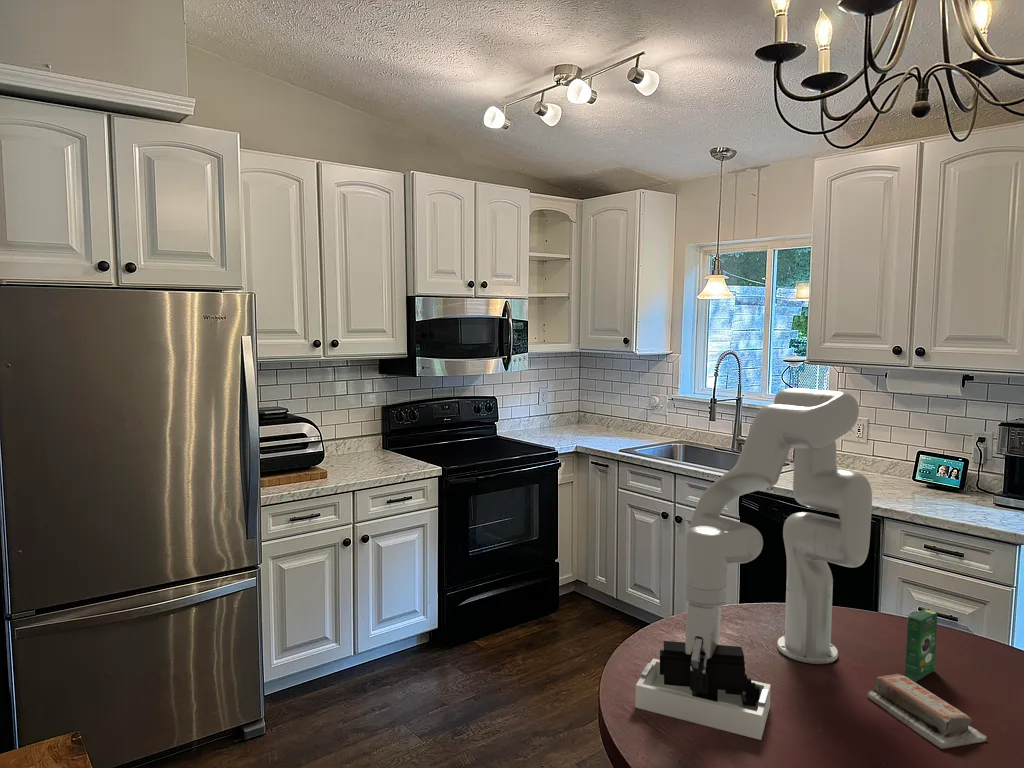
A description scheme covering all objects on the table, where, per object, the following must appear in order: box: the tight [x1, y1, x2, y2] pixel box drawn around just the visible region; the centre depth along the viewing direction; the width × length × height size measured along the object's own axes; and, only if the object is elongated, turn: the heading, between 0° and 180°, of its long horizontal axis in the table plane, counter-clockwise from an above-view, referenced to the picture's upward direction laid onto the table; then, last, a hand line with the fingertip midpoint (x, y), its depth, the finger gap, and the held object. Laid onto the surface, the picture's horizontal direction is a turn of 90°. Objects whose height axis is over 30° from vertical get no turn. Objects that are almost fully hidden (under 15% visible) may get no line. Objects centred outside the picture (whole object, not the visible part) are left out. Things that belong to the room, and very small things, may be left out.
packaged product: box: [866, 673, 987, 749], centre depth 128 cm, size 18×5×10 cm
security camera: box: [659, 640, 760, 706], centre depth 132 cm, size 7×18×10 cm, turn 78°
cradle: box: [634, 658, 772, 741], centre depth 132 cm, size 12×23×5 cm, turn 63°
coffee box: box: [904, 608, 939, 682], centre depth 144 cm, size 8×3×13 cm, turn 125°
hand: (703, 680), depth 132 cm, fingers closed on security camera, 8 cm apart
